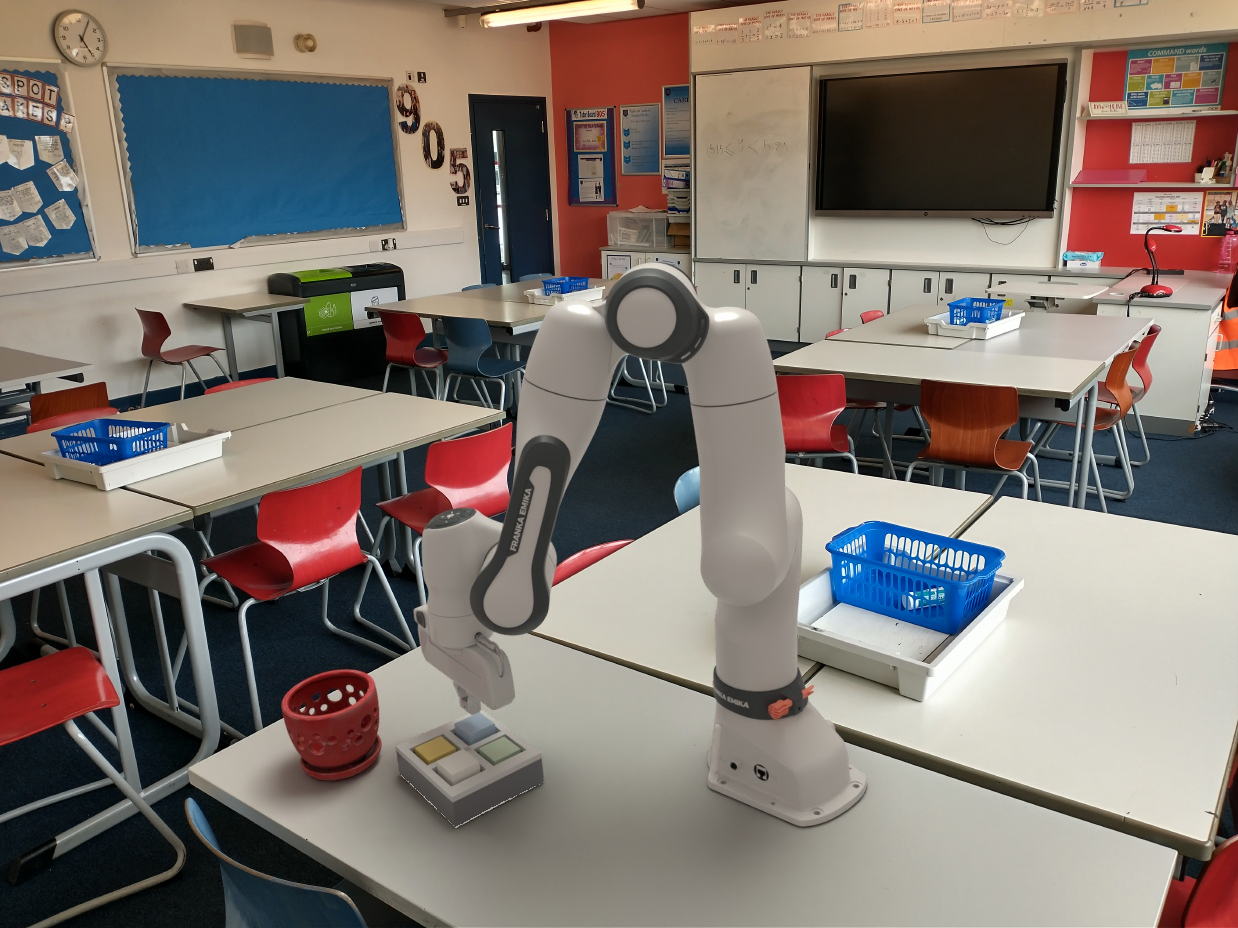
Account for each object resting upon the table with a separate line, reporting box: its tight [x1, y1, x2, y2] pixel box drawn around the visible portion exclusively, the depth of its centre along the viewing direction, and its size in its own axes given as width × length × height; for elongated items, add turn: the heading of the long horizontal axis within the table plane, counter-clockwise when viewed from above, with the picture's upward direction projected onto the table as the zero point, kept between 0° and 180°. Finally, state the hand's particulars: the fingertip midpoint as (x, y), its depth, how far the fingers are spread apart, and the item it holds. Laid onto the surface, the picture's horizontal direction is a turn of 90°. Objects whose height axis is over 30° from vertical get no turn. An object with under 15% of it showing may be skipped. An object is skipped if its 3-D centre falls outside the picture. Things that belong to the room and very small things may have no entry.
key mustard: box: [415, 736, 456, 774], centre depth 133 cm, size 4×4×3 cm
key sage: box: [479, 737, 521, 766], centre depth 132 cm, size 4×4×3 cm
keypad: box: [394, 708, 545, 828], centre depth 133 cm, size 16×14×5 cm
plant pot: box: [281, 669, 383, 781], centre depth 137 cm, size 13×13×12 cm
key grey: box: [436, 749, 481, 787], centre depth 128 cm, size 4×4×3 cm
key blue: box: [454, 712, 496, 746], centre depth 136 cm, size 4×4×3 cm
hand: (470, 709), depth 136 cm, fingers closed
